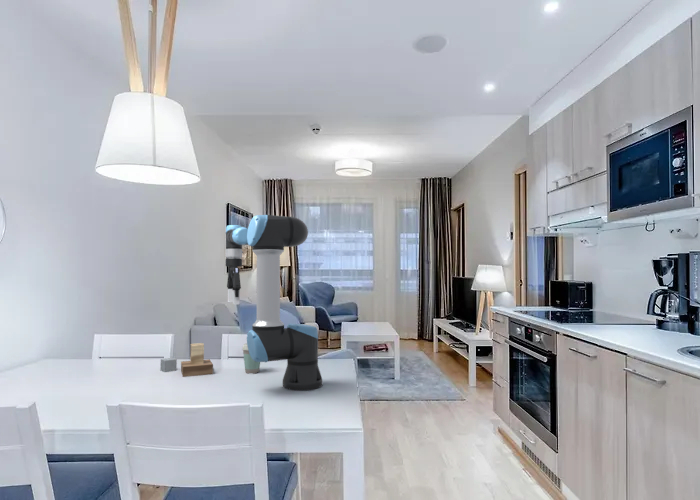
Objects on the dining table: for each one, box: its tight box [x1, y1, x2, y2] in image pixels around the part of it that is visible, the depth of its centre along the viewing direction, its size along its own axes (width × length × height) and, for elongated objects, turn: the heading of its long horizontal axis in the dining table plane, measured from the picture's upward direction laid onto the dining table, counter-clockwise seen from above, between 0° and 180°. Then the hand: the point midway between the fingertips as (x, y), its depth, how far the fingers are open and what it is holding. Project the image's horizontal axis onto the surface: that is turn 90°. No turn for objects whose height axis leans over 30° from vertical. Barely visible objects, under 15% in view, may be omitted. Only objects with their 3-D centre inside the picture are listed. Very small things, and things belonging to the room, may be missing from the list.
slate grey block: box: [160, 357, 178, 373], centre depth 197 cm, size 5×5×5 cm
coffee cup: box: [242, 342, 261, 374], centre depth 194 cm, size 8×8×12 cm
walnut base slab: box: [180, 359, 214, 378], centre depth 193 cm, size 12×12×4 cm
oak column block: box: [189, 342, 205, 365], centre depth 193 cm, size 5×5×8 cm
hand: (233, 303), depth 210 cm, fingers open, 13 cm apart
